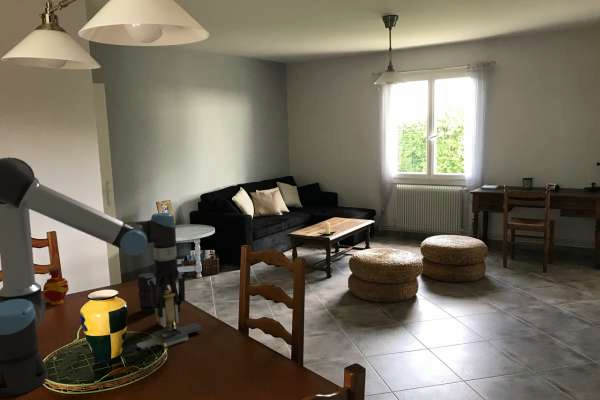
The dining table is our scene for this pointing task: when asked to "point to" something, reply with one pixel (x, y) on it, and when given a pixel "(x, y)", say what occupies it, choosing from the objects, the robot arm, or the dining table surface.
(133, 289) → the dining table surface
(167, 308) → the pin
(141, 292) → the camera lens
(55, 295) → the potion bottle
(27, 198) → the robot arm
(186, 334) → the dark grey flat piece
